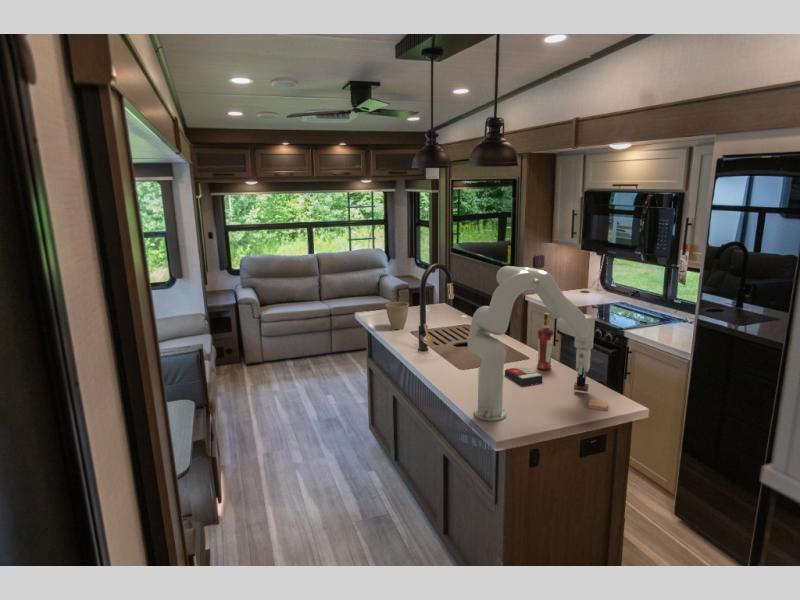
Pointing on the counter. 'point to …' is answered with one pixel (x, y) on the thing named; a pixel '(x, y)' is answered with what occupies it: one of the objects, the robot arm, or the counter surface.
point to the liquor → (545, 345)
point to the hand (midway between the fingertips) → (581, 383)
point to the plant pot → (397, 314)
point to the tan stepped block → (581, 388)
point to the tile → (598, 404)
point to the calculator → (523, 376)
